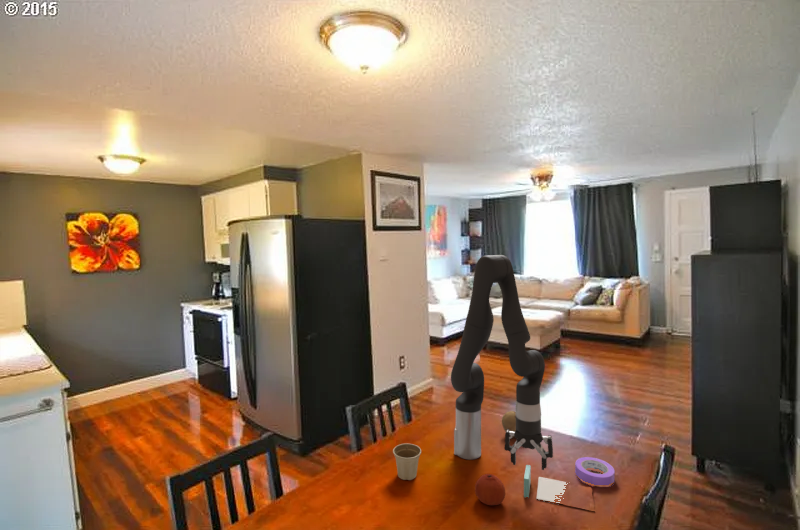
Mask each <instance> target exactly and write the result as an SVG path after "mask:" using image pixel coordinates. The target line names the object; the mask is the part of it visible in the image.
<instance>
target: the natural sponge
mask: <svg viewBox="0 0 800 530" xmlns="http://www.w3.org/2000/svg"><path fill="white" fill-rule="evenodd" d="M501 424H502V427H503V430H504V432H505V433H506V430H507V429H509V430H510V431H513V432H515V431H516V410H515V411H514V410H511V411H507V412H505V413H504V414H503V415H502V418H501ZM512 438H515V437H514V436H512Z"/></svg>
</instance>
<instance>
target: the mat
mask: <svg viewBox="0 0 800 530" xmlns="http://www.w3.org/2000/svg"><path fill="white" fill-rule="evenodd" d="M566 482H567V481H562V480H558V479H554V478H547V477H542V476H538V480H537V491H536V500H537V499H538V500H537V501H540V500H543V501H542V502H545V501H550V502H555V501H554V500H555V499H560V498H558V497H557V496H555V495H563V494H564V492H565V490H563V489H566V488H565V487H566V486H564V485H567V484H568V483H567V484H566ZM560 493H562V494H560ZM555 497H556V498H555ZM559 497H562V496H559ZM563 499H564V498H563ZM558 501H561V499H560V500H558ZM550 502H549V503H550ZM556 503H560V502H556Z"/></svg>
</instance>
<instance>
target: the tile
mask: <svg viewBox="0 0 800 530" xmlns="http://www.w3.org/2000/svg"><path fill="white" fill-rule="evenodd" d="M531 472H532V466H531V465H530V464H526V465H525V471H524V477H523V498H526V497H528V498H527V499H529V498H530V490H531V489H530V488H531V482H532V480H531V479H532V477H531V475H532V474H531Z"/></svg>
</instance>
